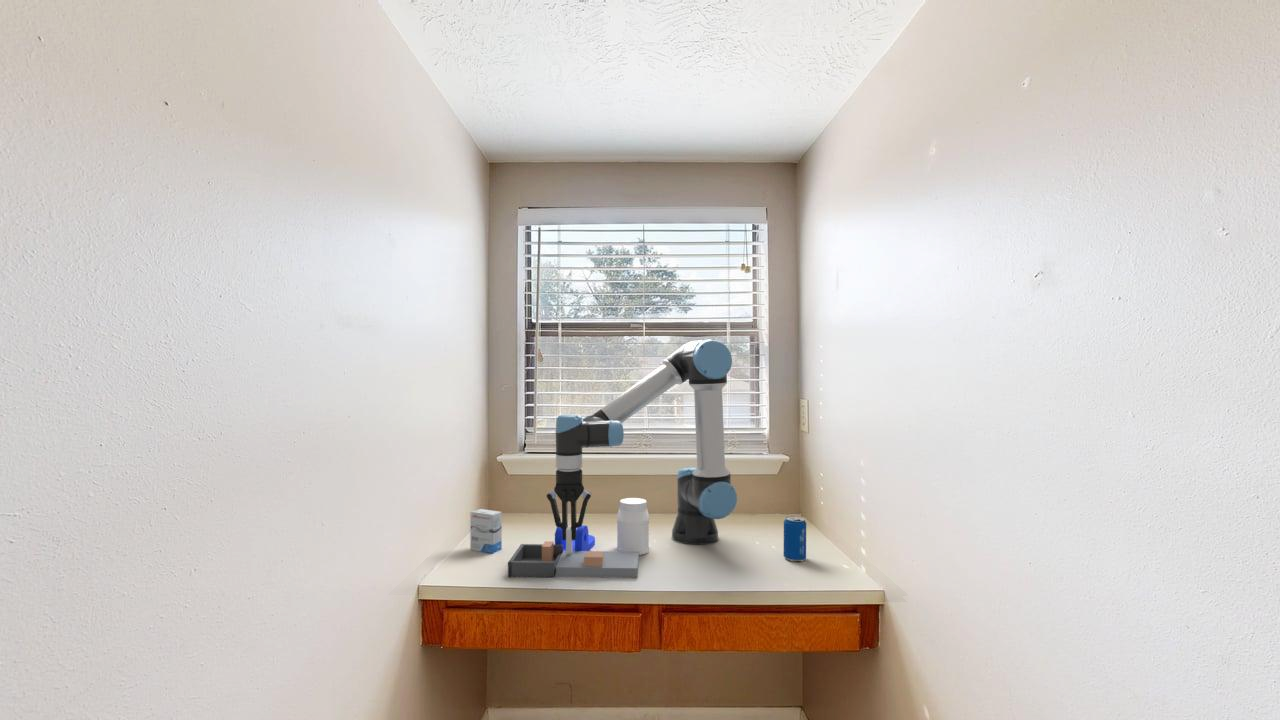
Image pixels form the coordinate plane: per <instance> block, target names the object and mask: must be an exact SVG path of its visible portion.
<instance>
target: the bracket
mask: <svg viewBox="0 0 1280 720" xmlns="http://www.w3.org/2000/svg"><path fill="white" fill-rule="evenodd" d="M567 527H569V526H567ZM554 544H556V545H563V551H566V540H563V539H562V528H560V527H557V526H556V529H555V533H554ZM595 544H596V537H595V536H594V535H591V534H589V527H588V526H587V525H583V524H582V526H581V527H578V528H576V539H575V540H573V550H572V551H589V550H590V549H591V550H592V548H593V547H594V546H595ZM591 550H590V551H591Z"/></svg>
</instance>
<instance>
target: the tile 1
mask: <svg viewBox="0 0 1280 720" xmlns="http://www.w3.org/2000/svg"><path fill="white" fill-rule="evenodd" d="M542 544H543V546H542V561H546V562H552V561H553V553H554V544H555V540H554V541H553V540H552V541H548V540H547V541H544V543H542Z"/></svg>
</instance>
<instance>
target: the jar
mask: <svg viewBox="0 0 1280 720" xmlns="http://www.w3.org/2000/svg"><path fill="white" fill-rule="evenodd" d="M647 504H648V503H647V500H646V499H645V498H639V497H626V498H622V499H620V500H619V508H618V511H617V517H616V518H617V519H616V520H617V526H616V527H617V539H616V542H617V543H616V551H621V552H639V556H643V555H646V553H647V554H648V553H650V552H649V551H650V548H649V540H650V539H649V535H650V534H649V529H650V528H649V525H650V524H649V523H650V515H649V514H650V513H649V510H648V508H647ZM642 554H643V555H642Z"/></svg>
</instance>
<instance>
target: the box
mask: <svg viewBox="0 0 1280 720" xmlns="http://www.w3.org/2000/svg"><path fill="white" fill-rule="evenodd" d="M543 544H544V543H540V544H539V543H537V544H536V543H535V544H534V543H521V544H520V545H519V546H518V548H517V549H516V551H514V553H513V555H512V556H511V557H510V559H509V560H508V562H507V578H540V579H541V578H545V579H548V578H549V579H550V578H551V579H555V577H556V566H557V564H558V561H559V559H560V557H561V555H562V553H563V545H556V544H555V543H554V553H553V561H552V562H546V561H542V546H543Z"/></svg>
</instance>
